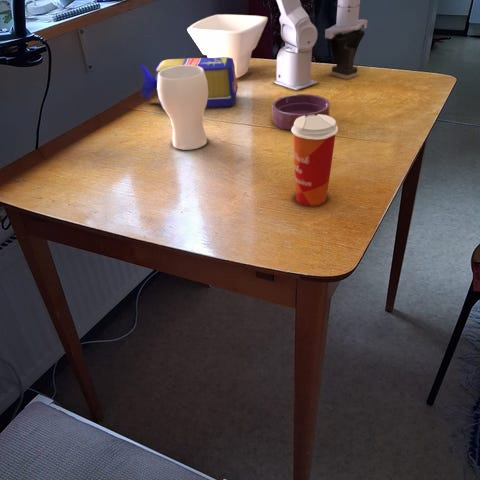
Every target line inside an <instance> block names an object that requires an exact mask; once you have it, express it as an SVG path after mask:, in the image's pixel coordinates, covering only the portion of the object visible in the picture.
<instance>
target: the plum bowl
mask: <svg viewBox="0 0 480 480" xmlns="http://www.w3.org/2000/svg"><path fill="white" fill-rule="evenodd" d="M330 112H331V102H330V100H329V99H327V98H325V97H324V96H321V95H316V94H308V93H307V94H306V93H299V94H298V93H297V94H290V95H285V96H282V97H278V98H277V99H276V100H274V101H273V102H272V104H271V120H272V124H274V125H275V126H277V127H278V128H280V129H281V130H285V131H289V132H292V131H291V129H292V127H293V126H294V122H295V120H296V119H297V118H299V117H301V116H304V115H305V118H306V116H308V115H315V116H317V115H318V114H321V115H327V116H330Z"/></svg>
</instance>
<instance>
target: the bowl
mask: <svg viewBox="0 0 480 480" xmlns="http://www.w3.org/2000/svg"><path fill="white" fill-rule="evenodd" d="M268 19H269V18H268V17H267V16H262V15H252V14H251V15H248V14H227V13H226V14H214V15H210V16H207V17H205V18H202V19H200V20H198V21H196V22H194V23H192V24H191V25H190V26H189V27H187V32H188V35H190V37H191V38H192V40H193V41H194V43H195V44H196V46H197V48H198V49H199V50H200V52H201V53H202V55H204V56H207V57H206V58H214V57H228V58H232V59H233V62H234V67H235V75H236V79H239V78H240V77H242V76H244V75H245V74H247V73H248V71H249V69H250V68H249V67H250V63H251V59H252V53H253V51H254V50H255V49H256V47H257V46H258V44H259V41H260V39H261V37H262V33H263V32H264V29H265V27H266V25H267V22H268Z"/></svg>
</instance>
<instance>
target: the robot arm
mask: <svg viewBox="0 0 480 480" xmlns="http://www.w3.org/2000/svg"><path fill="white" fill-rule="evenodd" d="M276 3H277V6H278V9H279V12H280V16H279V24H280V36H281V39H282V40H283V42H284V46H282V47H281V48H280V49H279V50H278V53H277V56H276V80H274V84H277V85H280V86H282V87H285V88H288V89H291V90H295V91H299V90H302V89H304V88H305V89H306V88H308V87H311V86H314V85H316V84H318V81H317V80H315V79H314V80H313V79H312V57H313V55H312V54H313V47H315V44H316V43H317V40H318V29H317V27H316V26H315V24H313V23H312V22H311V19H310V15H308V13H307V12H306V10H305V9H304V7H303V6H302V3H301V0H276ZM360 5H361V0H337V7H336V22H335V24H334V25H332V26H331V27H329V28H326V29H325V30H324V31H325V32H324V38H325V39H327V42H328V43H329V47H330V50H331V53H332V58H333V65H341V63H342V57H343V51H344V47H345V46H347V47H351V48H355V51H354V58H355V57H356V53H357V51H358V48H359V45H360V43H361V41H362V40H363V38H364V36H365V31H364V30H362V29H367V28H368V19H363V18H362V19H359V15H360V14H359V13H360ZM344 35H345V37H344Z"/></svg>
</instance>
